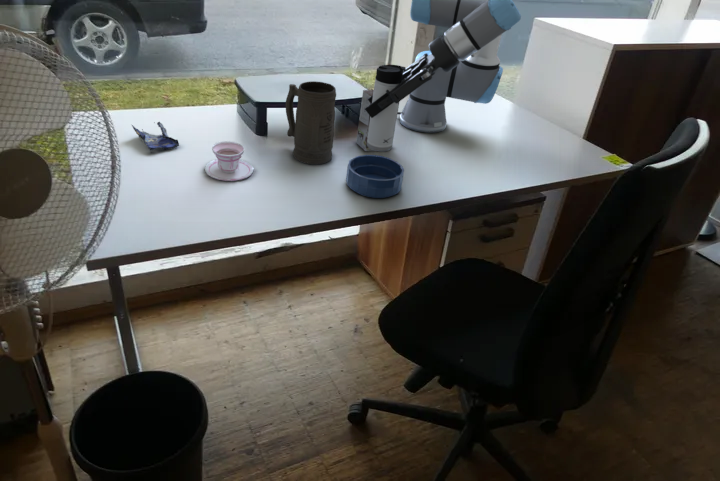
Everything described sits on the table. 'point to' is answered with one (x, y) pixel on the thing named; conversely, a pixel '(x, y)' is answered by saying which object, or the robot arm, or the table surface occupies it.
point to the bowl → (374, 176)
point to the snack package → (157, 139)
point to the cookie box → (365, 121)
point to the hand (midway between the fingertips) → (370, 108)
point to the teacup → (228, 162)
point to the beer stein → (312, 121)
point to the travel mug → (386, 119)
